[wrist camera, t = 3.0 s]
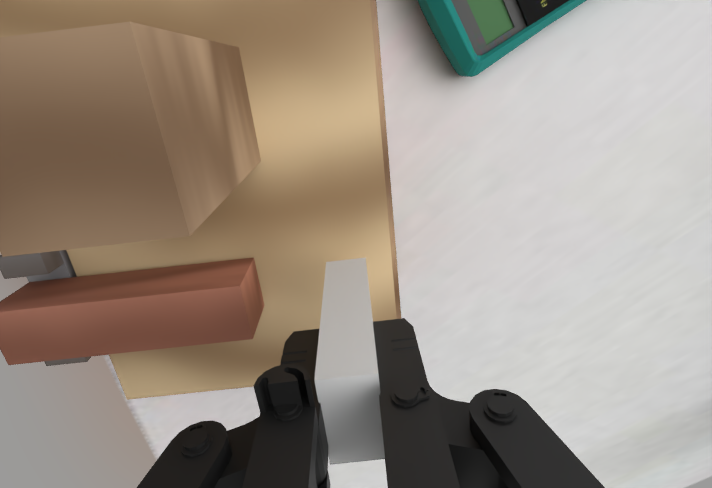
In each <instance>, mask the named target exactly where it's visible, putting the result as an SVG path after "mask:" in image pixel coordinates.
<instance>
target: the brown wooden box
mask: <svg viewBox="0 0 712 488" xmlns="http://www.w3.org/2000/svg"><path fill="white" fill-rule="evenodd" d="M370 6H371V18H372V30H373V42H374V54H375V66H376V78H377V90H378V102H379V114H380V126H381V137H382V149H383V161H384V173H385V185H386V197H387V209H388V221H389V233H390V245H391V257H392V269H393V280H394V292H395V304H396V316H397V319H401V310H400V297H399V284H398V272H397V259H396V246H395V234H394V221H393V208H392V196H391V183H390V171H389V158H388V145H387V133H386V120H385V107H384V95H383V82H382V69H381V57H380V44H379V31H378V19H377V6H376V0H370ZM0 270H1V272H2V275H3V277H4V278H5V279H7V278H16V277H25V276H26V277H27V279H28V281H29V282H35V281H44V280H53V279H62V278H71V277H77V275H76V273H75V270H74V268H73V265H72V263H71V260H70V258H69V255H68V253H67V251H66V250H60V251H51V252H42V253H33V254H24V255H15V256H6V257H3V256H2V255H0ZM90 358H91V356H89V357H80V358H70V359H61V360H52V361H44V362H45V364H46V366H51V365H60V364H69V363H78V362H87V361H88V360H89V359H90Z"/></svg>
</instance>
